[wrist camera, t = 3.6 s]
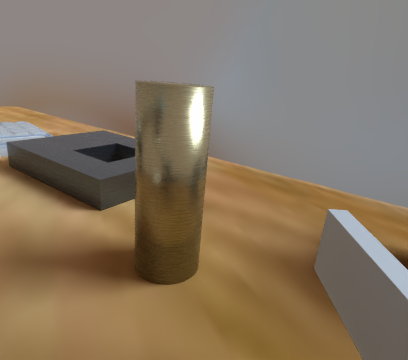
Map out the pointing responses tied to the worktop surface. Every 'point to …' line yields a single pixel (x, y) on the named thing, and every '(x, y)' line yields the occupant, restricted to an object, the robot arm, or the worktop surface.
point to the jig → (80, 165)
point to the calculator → (18, 133)
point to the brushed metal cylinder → (170, 177)
